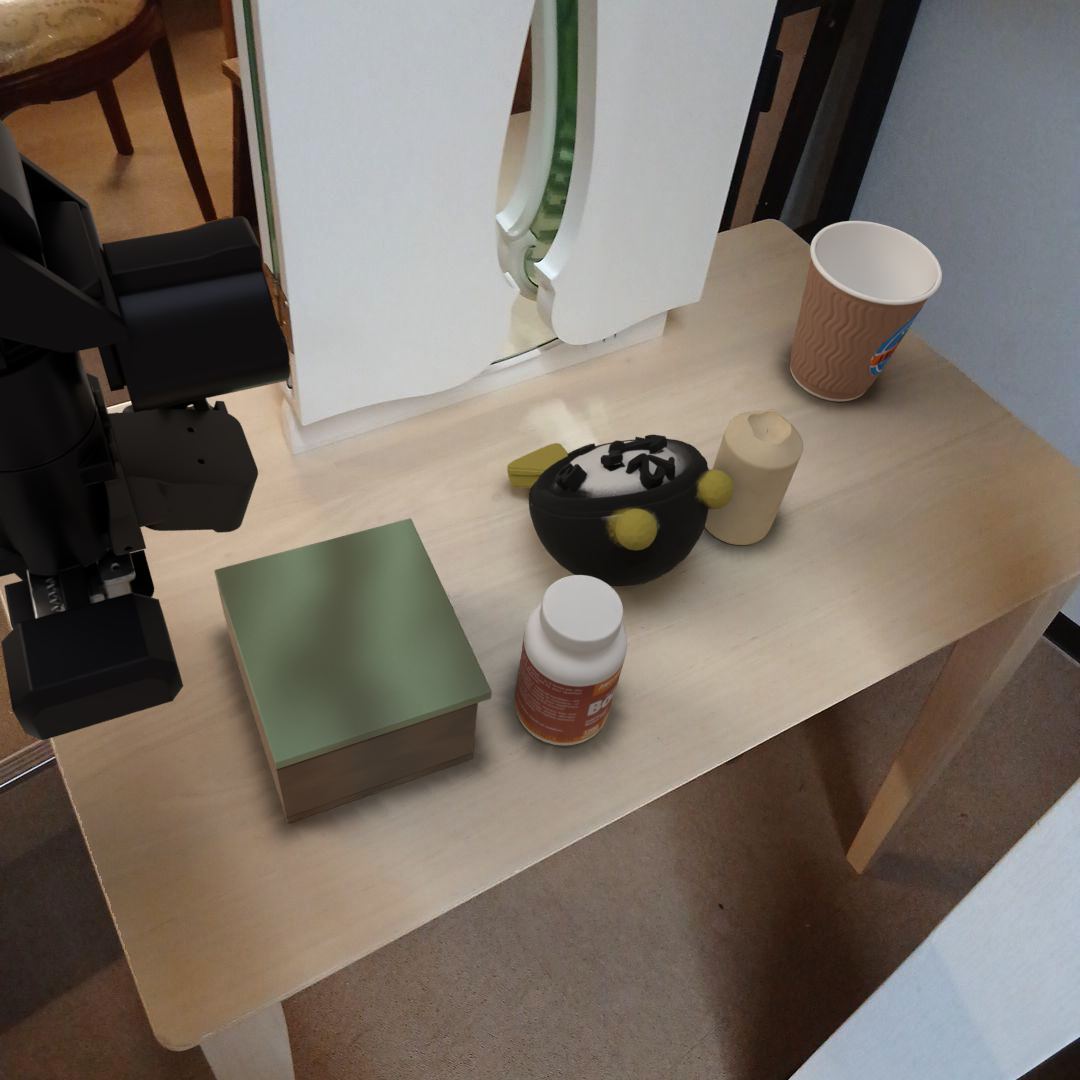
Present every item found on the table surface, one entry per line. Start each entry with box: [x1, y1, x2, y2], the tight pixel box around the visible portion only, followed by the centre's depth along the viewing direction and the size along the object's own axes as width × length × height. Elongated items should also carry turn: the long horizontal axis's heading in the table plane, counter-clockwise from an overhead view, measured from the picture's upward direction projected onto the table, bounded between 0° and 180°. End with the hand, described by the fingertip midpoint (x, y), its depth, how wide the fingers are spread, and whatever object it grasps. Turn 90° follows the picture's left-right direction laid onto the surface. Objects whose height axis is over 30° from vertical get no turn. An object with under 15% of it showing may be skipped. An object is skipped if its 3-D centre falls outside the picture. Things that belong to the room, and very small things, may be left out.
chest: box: [215, 579, 479, 824], centre depth 65 cm, size 12×14×7 cm
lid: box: [214, 517, 493, 769], centre depth 62 cm, size 12×14×1 cm
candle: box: [704, 409, 804, 546], centre depth 77 cm, size 6×6×10 cm
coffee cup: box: [789, 220, 943, 402], centre depth 87 cm, size 10×10×12 cm
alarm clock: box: [506, 434, 734, 588], centre depth 74 cm, size 12×15×15 cm
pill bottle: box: [514, 574, 628, 746], centre depth 65 cm, size 6×6×11 cm
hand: (106, 639), depth 54 cm, fingers closed
